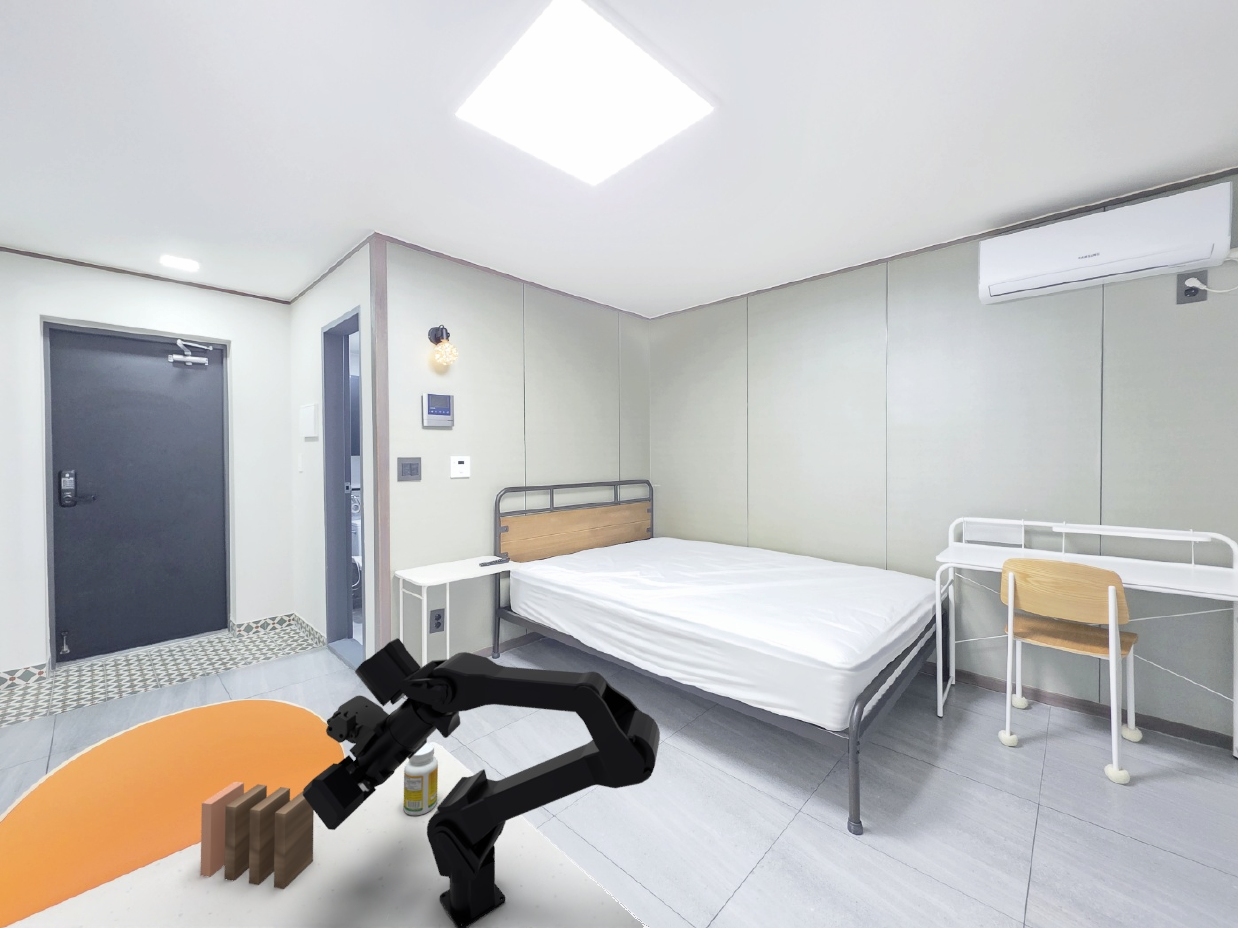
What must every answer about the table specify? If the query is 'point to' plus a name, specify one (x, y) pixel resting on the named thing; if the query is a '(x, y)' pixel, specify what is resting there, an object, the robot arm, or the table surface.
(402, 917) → the table surface
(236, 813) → the domino
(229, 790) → the domino
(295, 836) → the domino
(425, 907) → the table surface
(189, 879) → the table surface
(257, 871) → the domino
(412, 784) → the supplement bottle
